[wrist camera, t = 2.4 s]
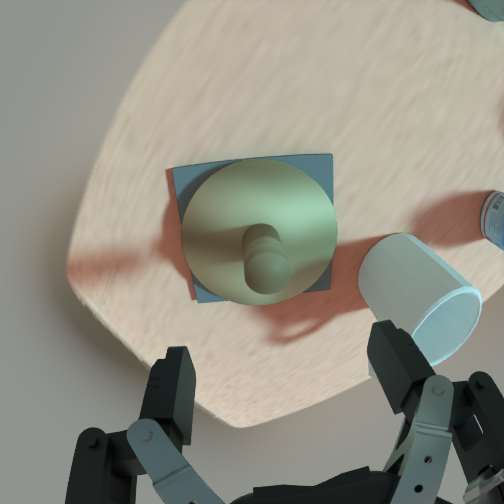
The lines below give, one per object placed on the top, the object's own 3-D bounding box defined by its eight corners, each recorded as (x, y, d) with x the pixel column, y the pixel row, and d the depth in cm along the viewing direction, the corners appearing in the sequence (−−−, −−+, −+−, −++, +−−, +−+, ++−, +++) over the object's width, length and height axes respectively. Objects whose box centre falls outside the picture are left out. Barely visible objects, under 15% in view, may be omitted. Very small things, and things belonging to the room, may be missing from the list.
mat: (173, 167, 20) (172, 168, 19) (330, 153, 20) (332, 154, 19) (198, 299, 25) (198, 303, 25) (327, 285, 25) (329, 289, 25)
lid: (172, 168, 19) (147, 187, 14) (332, 154, 19) (368, 168, 14) (198, 303, 25) (190, 352, 19) (329, 289, 25) (351, 334, 19)
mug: (320, 319, 27) (348, 397, 18) (387, 218, 23) (455, 272, 14) (373, 336, 29) (407, 401, 20) (435, 251, 25) (493, 304, 16)
